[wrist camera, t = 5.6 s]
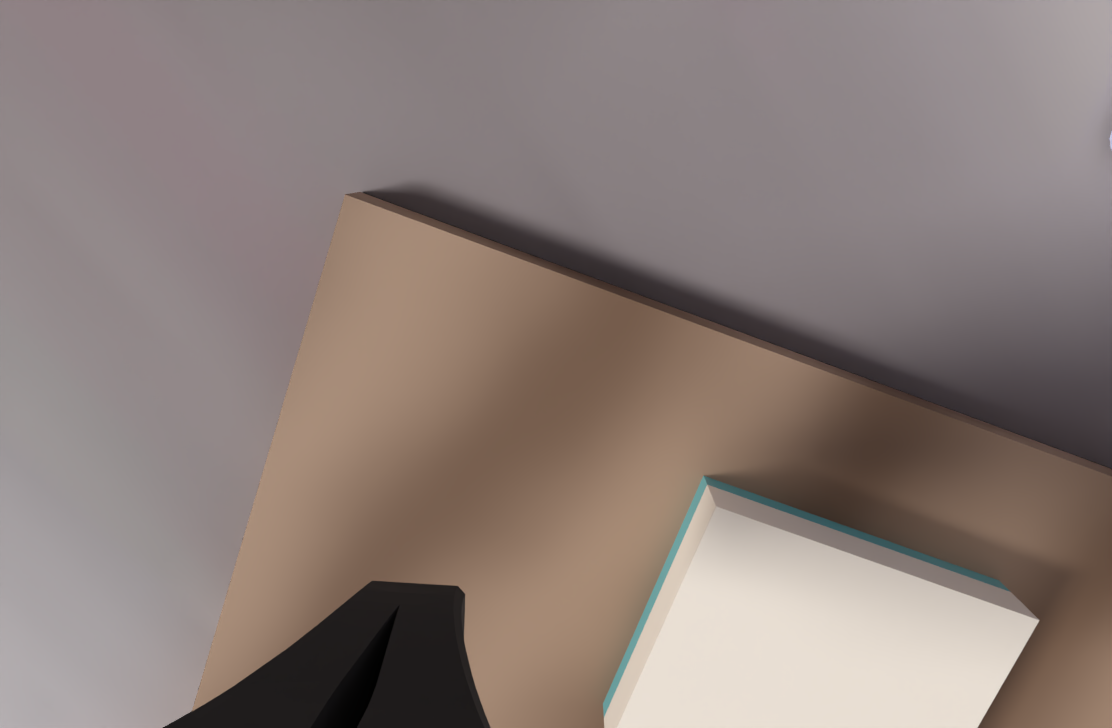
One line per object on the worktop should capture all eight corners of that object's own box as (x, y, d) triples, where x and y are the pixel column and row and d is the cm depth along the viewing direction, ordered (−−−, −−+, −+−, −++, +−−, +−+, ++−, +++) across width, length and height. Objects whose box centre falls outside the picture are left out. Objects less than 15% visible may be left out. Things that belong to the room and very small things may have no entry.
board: (1273, 528, 19) (1320, 553, 18) (955, 1029, 23) (975, 1076, 22) (360, 192, 17) (345, 194, 16) (181, 787, 21) (158, 823, 20)
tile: (703, 475, 18) (999, 580, 18) (602, 703, 19) (879, 795, 19) (715, 506, 16) (1039, 619, 16) (606, 751, 17) (906, 850, 18)
